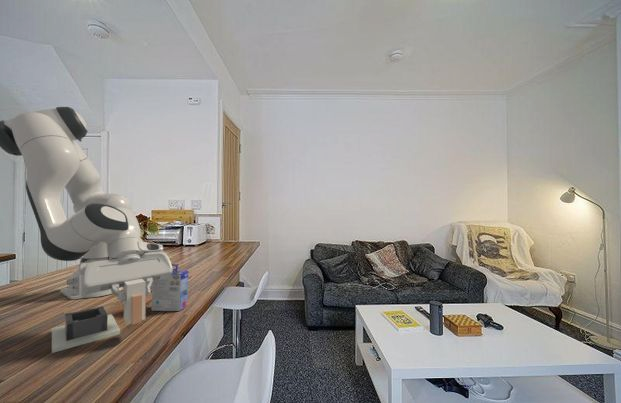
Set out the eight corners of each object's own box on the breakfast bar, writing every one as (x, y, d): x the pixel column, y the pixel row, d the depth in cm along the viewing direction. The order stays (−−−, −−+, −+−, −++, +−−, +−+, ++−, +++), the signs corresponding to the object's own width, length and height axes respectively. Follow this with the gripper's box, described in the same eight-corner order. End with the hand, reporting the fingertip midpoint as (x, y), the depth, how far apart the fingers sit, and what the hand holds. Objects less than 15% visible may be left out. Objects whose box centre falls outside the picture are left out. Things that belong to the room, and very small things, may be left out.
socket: (51, 331, 70) (52, 313, 70) (111, 317, 79) (112, 301, 79) (51, 353, 60) (52, 331, 60) (120, 333, 69) (120, 315, 69)
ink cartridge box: (188, 305, 89) (189, 263, 89) (180, 311, 83) (181, 267, 84) (160, 304, 89) (161, 263, 89) (150, 311, 84) (151, 267, 84)
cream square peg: (123, 319, 67) (124, 281, 67) (141, 314, 70) (141, 278, 70) (127, 325, 64) (128, 286, 64) (146, 320, 67) (146, 282, 67)
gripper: (79, 253, 65) (83, 302, 58) (168, 244, 79) (179, 282, 73) (78, 267, 68) (81, 316, 61) (163, 256, 83) (173, 294, 76)
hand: (135, 297), depth 67 cm, fingers closed on cream square peg, 4 cm apart
